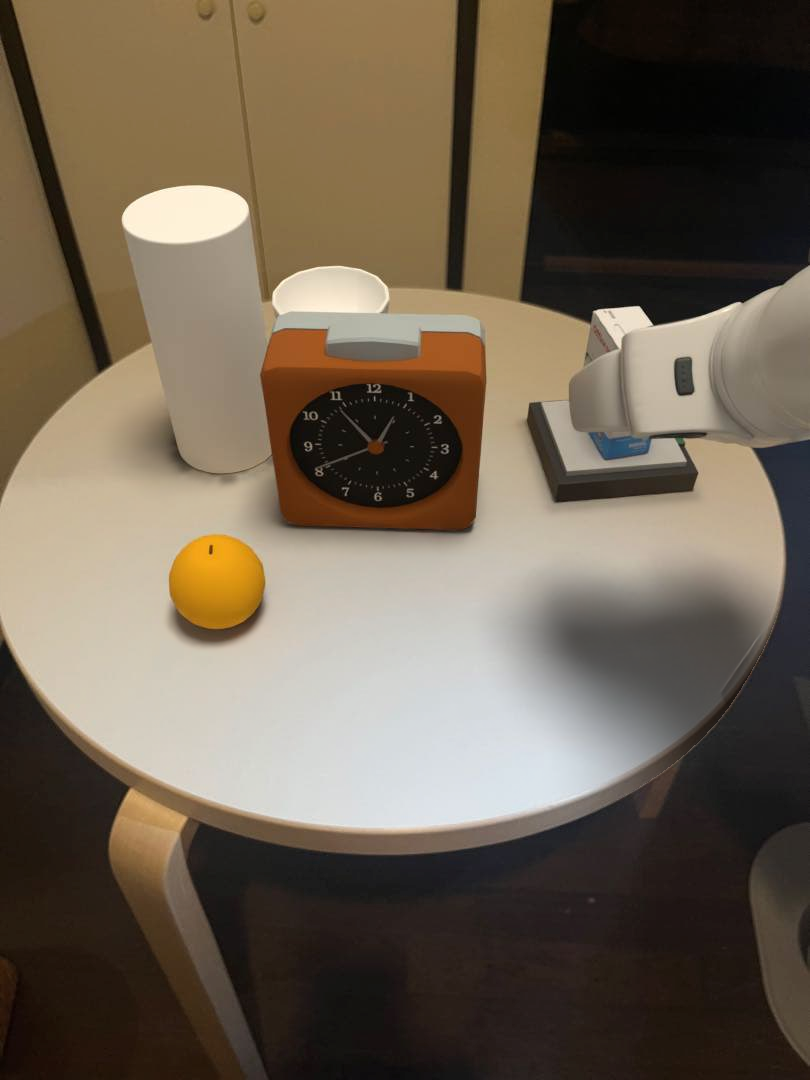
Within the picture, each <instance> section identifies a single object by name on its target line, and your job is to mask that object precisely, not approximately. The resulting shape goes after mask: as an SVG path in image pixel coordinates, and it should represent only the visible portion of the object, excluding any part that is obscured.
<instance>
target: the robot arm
mask: <svg viewBox="0 0 810 1080" xmlns="http://www.w3.org/2000/svg"><path fill="white" fill-rule="evenodd" d="M807 262H809V263H810V249H809V250H808V256H807ZM568 400H569V406H570V415H571V422H572V425H573V428H574V429H575V430H576V431H579V432H621V431H629V433H630V436H631V437H633V438H637V439H639V438H650V439H663V438H683V439H685V440H686V439H687V440H689V439H690V440H691V439H693V440H694V439H698V440H699V439H701V440H706V441H711V442H717V443H722V444H732V445H739V446H742V447H747V448H754V449H764V448H771V447H778V446H782V445H787V444H792V443H797V442H798V443H799V442H804V441H808V440H810V264H809V265H808V266H806V267H805V268H803V269H801V270H799V271H798V272H797V273H795V274H794V275H793V276H792V277H790V279H788V280H787V281H785V282H784V283H783V284H782V285H778V286H774V287H771V288H769V289H767V290H764V291H763V292H760V293H759V294H757V295H755V296H753V297H752V298H750V299H748V300H746V301H744V302H743V303H742V302H740V301H738V302H737V301H736V302H734V303H731V304H729V305H727V306H724V307H722V308H719V309H717V310H714V311H712V312H708V313H707V314H703V315H700V316H693V317H688V318H684V319H679V320H675V321H669V322H664V323H659V324H653V325H652V326H649V327H646V328H640V329H635V330H632V331H630V332H628V333H627V334H625V335H624V336H623V337H622V341H621V349H617V350H614V351H611V352H609V353H606V354H604V355H602V356H600V357H598V358H597V359H595V360H594V361H592V362H591V363H589V364H588V365H586V366H585V367H582V368H581V369H579V370H578V371H577V372H576V373H574V374H573V376H572V377H571V378H570V380H569V382H568Z"/></svg>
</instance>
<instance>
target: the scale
mask: <svg viewBox="0 0 810 1080" xmlns="http://www.w3.org/2000/svg"><path fill="white" fill-rule="evenodd" d="M526 417H527V418H526V421H527V425H528V427H529V430H530V433H531V435H532V438H533V441H534V444H535V447H536V450H537V453H538V456H539V459H540V461H541V465H542V467H543V470H544V473H545V475H546V479H547V481H548V485H549V487H550V490H551V493H552V497H553V498H554V501H555V503H561V502H573V501H584V500H594V499H595V500H596V499H606V498H619V497H630V496H631V497H632V496H643V495H655V494H666V493H677V492H678V493H679V492H688V491H689V492H690V491H691V492H692V491H693V490H694V487H695V485H696V482H697V479H698V476H699V471H698V468H697V467H696V464H695V462H694V461H693V459H692V457H691V456H690V454H689V452H688V450H687V449H686V441H685V440H684V439H685V438H663V439H652V440H651V444H650V448H649V451H648V452H647V453H642V454H636V455H630V456H623V457H617V458H610V459H604V457H603V456H602V454H601V452H600V450H599V449H598V447H597V445H596V443H595V442H594V440H593V438H592V437H591V435H590V433H589V432H579V431H576V430H575V429H574V428H573V425H572V422H571V415H570V406H569V399H559V400H545V401H534V402H533V401H531V402H529V403H528V410H527V416H526Z"/></svg>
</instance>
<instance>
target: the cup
mask: <svg viewBox="0 0 810 1080" xmlns="http://www.w3.org/2000/svg"><path fill="white" fill-rule="evenodd" d="M271 296H272V297H271V301H272V302H271V307H272V310H273V313H274V315H275V320H276V319H277V317H278V316H280V315H282V314H285V313H288V312H290V311H296V312H344V313H389V308H390V300H391V298H390V292H389V287H388V285H386V284H385V283H384V282H383V280H382V279H381V278H380V277H379V276H378V275H375V274H373V273H371V272H369V271H366V270H364V269H361V268H355V267H349V266H344V265H330V266H329V265H328V266H316V267H312V268H309V269H305V270H300V271H297V272H295V273H293V274H291V275H290V276H288V277H286V278H285V279H283V280H282V281H281V282H280V283H279V284H278V285H277V286H276V288H275V289H274V290H273V292H272V294H271Z"/></svg>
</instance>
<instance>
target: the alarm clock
mask: <svg viewBox="0 0 810 1080" xmlns="http://www.w3.org/2000/svg"><path fill="white" fill-rule="evenodd" d="M267 344H268V347H267V351H266V355H265V358H264V362H263V366H262V369H261V373H260V378H261V384H262V391H263V397H264V403H265V410H266V417H267V424H268V431H269V438H270V445H271V451H272V455H271V457H272V463H273V464H272V465H273V471H274V476H275V482H276V489H277V496H278V502H279V511H280V514H281V517H283V519H284V520H285V522H287V523H290V524H292V525H295V526H309V527H339V528H340V527H343V528H345V527H346V528H378V529H407V530H408V529H411V530H412V529H413V530H441V531H443V530H447V531H448V530H449V531H460V530H464V529H467V528H470V526H471V525H472V524H473V522H475V519H476V517H477V507H478V506H477V504H478V492H479V481H480V480H479V479H480V466H481V454H482V442H483V430H484V416H485V404H486V391H487V361H486V360H487V355H486V331H485V329H484V327H483V324H482V322H481V321H480V320H479V319H477V318H475V317H473V316H470V315H469V314H437V313H434V314H433V313H432V314H431V313H391V312H388V313H344V312H296V311H290V312H288V313H285V314H282V315H280V316H278V317H277V319H276V318H275V320H274V323H273V326H272V329H271V333H270V336H269V340H268V343H267Z"/></svg>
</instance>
